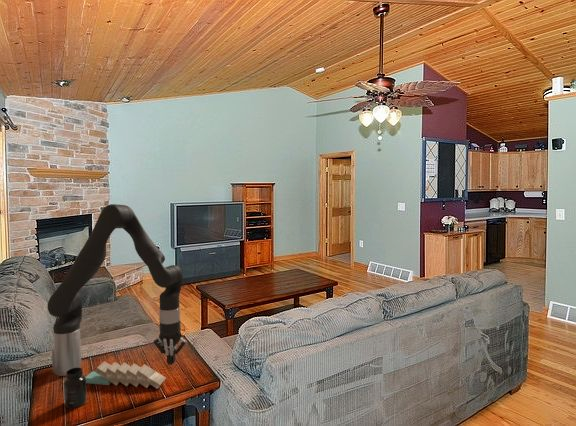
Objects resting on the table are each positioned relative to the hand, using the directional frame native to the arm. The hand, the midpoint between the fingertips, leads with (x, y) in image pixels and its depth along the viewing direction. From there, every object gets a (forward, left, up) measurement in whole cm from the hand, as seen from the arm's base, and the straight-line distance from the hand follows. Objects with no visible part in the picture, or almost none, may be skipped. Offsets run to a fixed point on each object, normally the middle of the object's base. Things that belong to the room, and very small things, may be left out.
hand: (171, 363), depth 141 cm
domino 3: (-16, 0, -8) cm, 18 cm away
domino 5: (-8, 0, -8) cm, 12 cm away
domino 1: (-24, 0, -8) cm, 25 cm away
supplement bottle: (-28, -15, -9) cm, 33 cm away
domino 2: (-20, 0, -8) cm, 22 cm away
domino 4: (-12, 0, -8) cm, 15 cm away
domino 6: (-4, 0, -8) cm, 9 cm away
